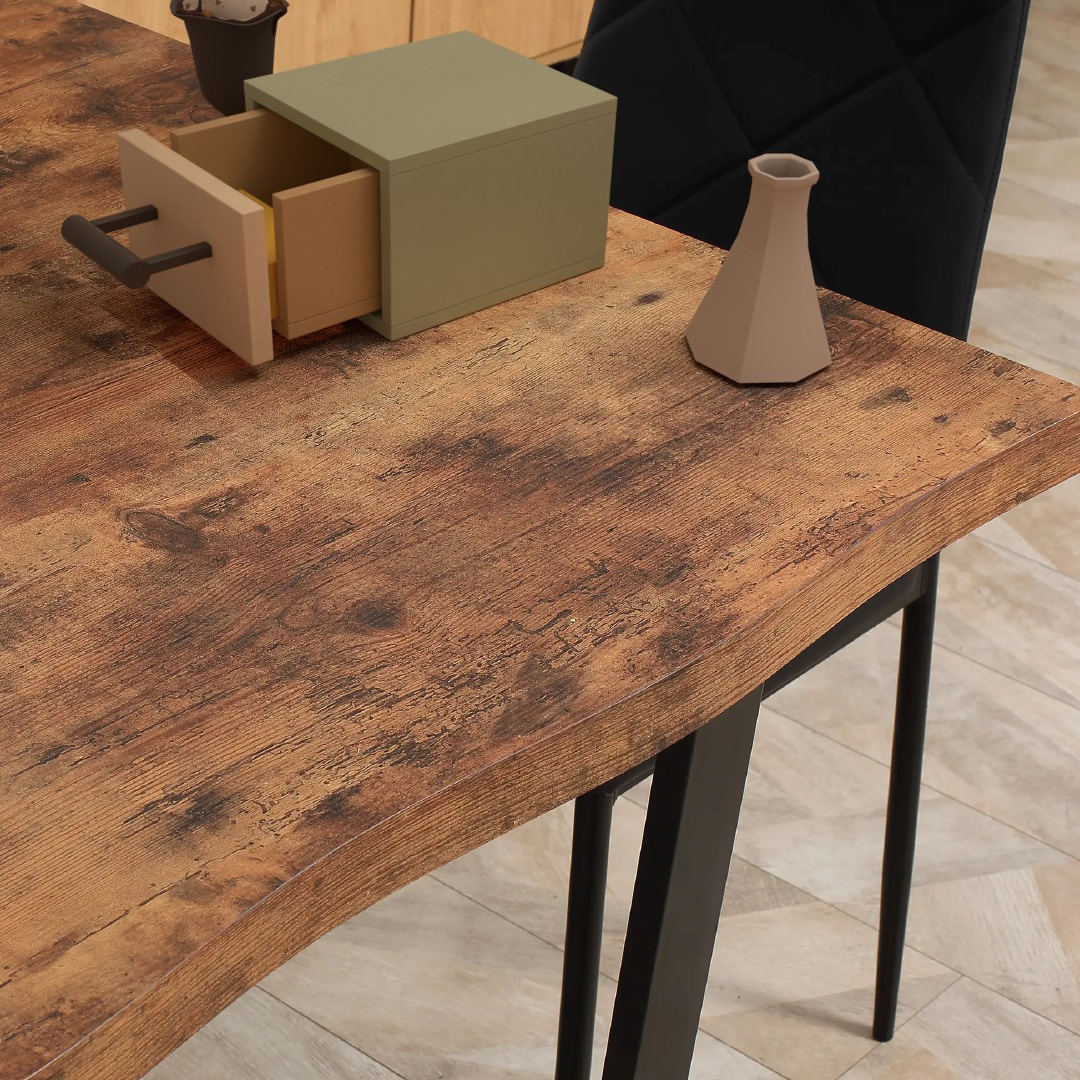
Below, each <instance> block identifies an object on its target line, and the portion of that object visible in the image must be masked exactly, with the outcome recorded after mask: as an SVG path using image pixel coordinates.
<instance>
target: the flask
mask: <svg viewBox="0 0 1080 1080" xmlns="http://www.w3.org/2000/svg"><path fill="white" fill-rule="evenodd" d="M747 170H748V172H749V174H750V176H751V177H752V181H751V189H750V193H749V201H748V205H747V207H746V209H745V213H744V216H743V219H742V222H741V225H740V228H739V230H738V233H737V236H736V237H735V240H734V242H733V243H732V245H731V247H730V249H729V251H728V253H727V255H726V257H725V258H724V260H723V262H722V264H721V267H720V268H719V270H718V272H717V273H716V276H715V278H714V280H713V281H712V283H711V285H710V286H709V288H708V289H707V292H706V293H705V295H704V297H702V300H701V302H700V304H699V305H698V306H697V309H696V310H695V312H694V314H693V315H692V317H691V319H690V321H689V323H688V325H687V326H686V328H685V330H684V332H683V333H684V335H685V338H686V341H687V343H688V346H689V348H690V351H691V353H692V354H693V355H692V356H693V358H694V361H696V362H698V363H700V364H701V365H703V366H706V367H707V368H709V369H711V370H713V371H715V372H716V373H719V374H721V375H723V376H725V377H726V378H729V379H730V380H733V381H735V382H736V383H738V384H759V383H760V384H762V383H797V382H799V381H801V380H803V379H805V378H807V377H809V376H811V375H813V374H814V373H817V372H818V371H820V370H822V369H824V368H826V367H828V366H830V365H832V364H833V361H832V356H831V351H830V345H829V342H828V337H827V334H826V333H827V332H826V329H825V328H826V327H825V324H824V320H823V319H824V318H823V316H822V315H823V314H822V312H821V308H820V303H819V299H818V298H819V297H818V293H817V288H816V282H815V277H814V273H813V266H812V261H811V257H810V251H809V236H808V234H809V233H808V231H809V230H808V206H809V200H810V194H811V193H810V192H811V189H812V186H813V185H815V184H817V183H818V181H819V179H820V172H819V170H818V169H817V167H816V165H815V163H814V162H813V161H811V160H808V159H805V158H803V157H800V156H799V155H795V154H793V153H764V154H762V155H759V156H756V157H753V158H751V159H748V161H747Z"/></svg>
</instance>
